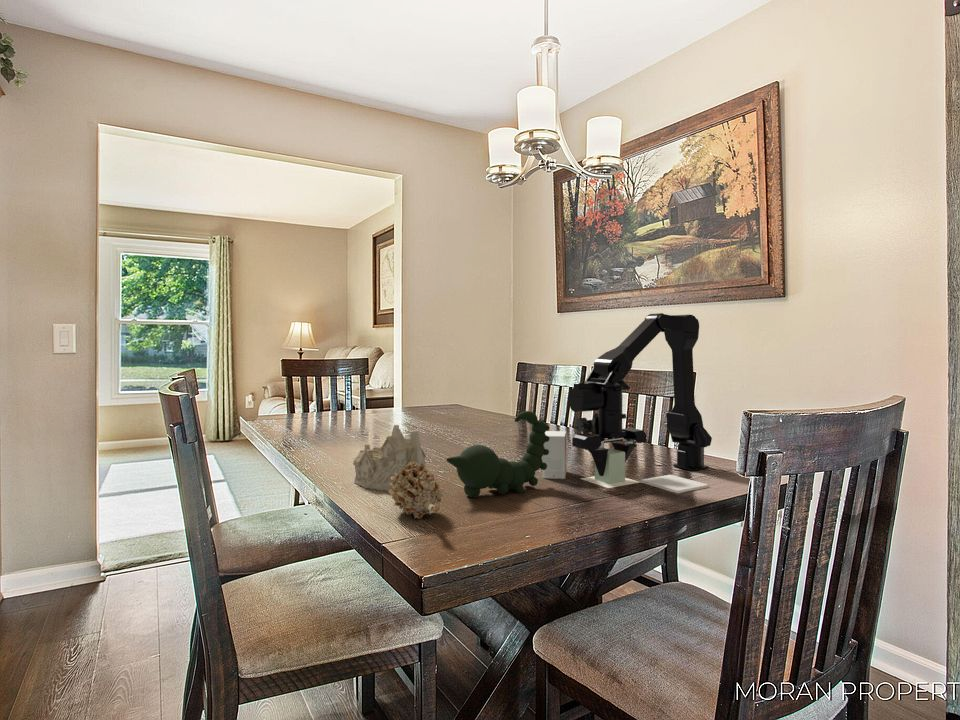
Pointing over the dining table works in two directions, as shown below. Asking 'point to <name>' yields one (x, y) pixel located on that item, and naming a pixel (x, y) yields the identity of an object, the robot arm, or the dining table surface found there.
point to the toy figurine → (503, 463)
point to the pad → (674, 483)
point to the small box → (555, 455)
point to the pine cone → (416, 490)
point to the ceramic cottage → (387, 459)
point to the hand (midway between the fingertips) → (609, 474)
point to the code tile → (626, 482)
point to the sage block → (613, 468)
